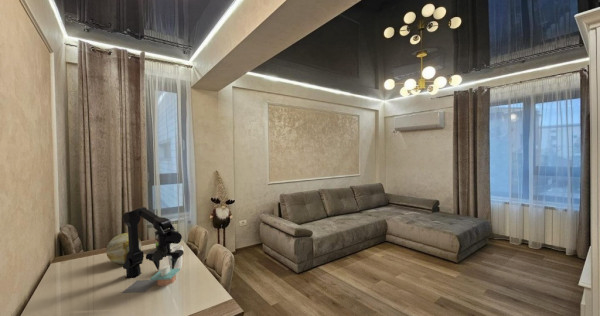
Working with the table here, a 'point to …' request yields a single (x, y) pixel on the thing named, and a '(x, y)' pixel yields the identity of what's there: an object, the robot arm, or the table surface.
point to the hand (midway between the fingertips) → (165, 269)
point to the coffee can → (157, 239)
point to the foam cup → (179, 260)
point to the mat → (140, 286)
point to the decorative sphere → (119, 248)
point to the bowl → (166, 281)
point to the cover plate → (158, 275)
